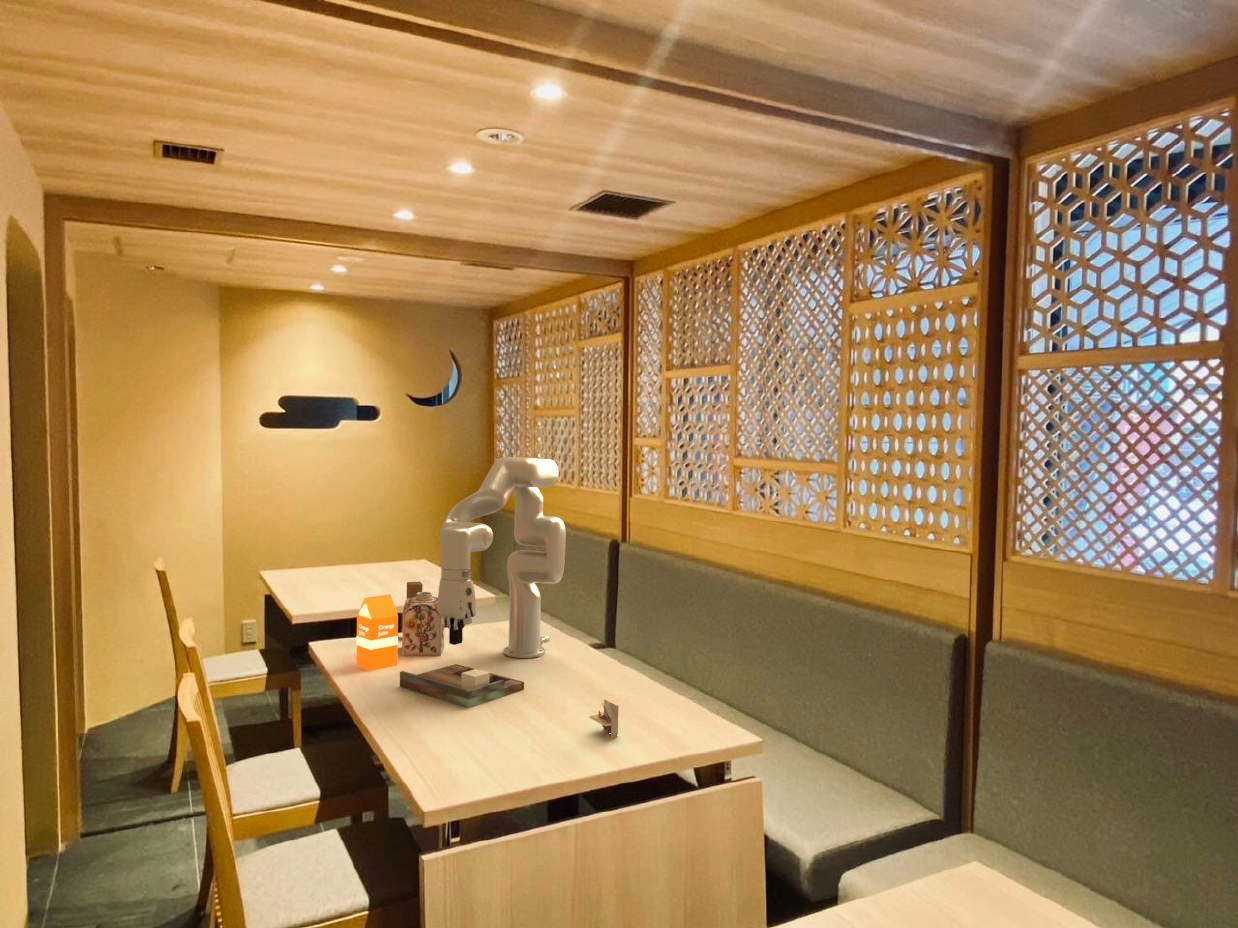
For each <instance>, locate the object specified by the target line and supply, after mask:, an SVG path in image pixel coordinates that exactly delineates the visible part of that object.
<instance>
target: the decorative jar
mask: <svg viewBox="0 0 1238 928" xmlns="http://www.w3.org/2000/svg"><path fill="white" fill-rule="evenodd" d="M401 634H402V637H401V639H402V640H401V648H402V649H401V654H402V656H403V657H441V656H442V653H443V650H444V648H445V620H444V619H442V618H441V617H440V613H439V611H438V596H433V593H432V592H430V591H422V592H418V593H417V596H416V597H413V598H409V599H407V598H406V600H405V601H404V606H403V610H402V633H401Z"/></svg>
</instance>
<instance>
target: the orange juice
mask: <svg viewBox="0 0 1238 928" xmlns="http://www.w3.org/2000/svg"><path fill="white" fill-rule="evenodd" d="M398 630H399V615H398V612H397V609H396V606H395V603H394V600H393V597H392V594H391V593H390V594H383V595H377V596H376V595H375V596H369V597H364V599H363V600H362V603H361V605H360V608H359V610H358V612H357V614H356V655H355V656H356V659H355V661H356V665H357V666H356V667H360V668H362V669H364V670H367V671H370V672H372V671H377V670H382V669H385V668H392V667H395V666H398V650H399V649H398V645H399V636H398V634H399V631H398Z"/></svg>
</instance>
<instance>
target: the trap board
mask: <svg viewBox="0 0 1238 928" xmlns="http://www.w3.org/2000/svg"><path fill="white" fill-rule="evenodd" d="M474 669H475V668H473V667H469V666H466V665H465V666H464V665H462V664H458V663H454V664H452V665H447V666H444V667H440V668H437V669H433V670H429V671H425V672H422V673H418V674H415V673H412V672H408V671H404V670H402V671H399V688H402V689H406V690H409V691H412V692H414V693H420V694H422V695H426V696H430V697H433V698H436V699H439V700H443V701H446V702H449V703H451V704H455V705H458V706H461V707H466V708H468V709H469V708H472V707H474V706H478V705H481V704H485V703H487V702H490V701H493V700H497V699H499V698H502V697H505V696H508V695H512V694H515V693H517V692H521V691H523V690H525V681H523V680H520V679H519V680H518V679H514V678H510V677H506V676H503V675H500V674H499V675H498V674H497V673H496V674H495V673H491V672H489V673H490V680H489V684H487V685H483V686H480V687H477V688H474V689H470V690H468V689H464V688H461V676H462V673H463V672H467V671H471V670H474Z"/></svg>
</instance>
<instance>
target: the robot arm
mask: <svg viewBox="0 0 1238 928" xmlns="http://www.w3.org/2000/svg"><path fill="white" fill-rule="evenodd" d="M558 479H559V468H558V465H557V463H556V461H554V460H553V459H551V458H536V457H525V456H524V457H522V456H521V457H520V456H503V457H499V458H497V459H496V460H495V461H494V462H493V464H492V466H491V467H490V469H489V471H488V473H487V475H486V477H485V478H484V480H483V482H482V483H481V484H480V487H479V488H478V490H477V491H476V492H474V493H472V494H470V495H468V496H467V497H465V498H463V499H462V500H461V501H459V502H458V503H456V504H455V505H454V506H453V507H452V508H451V509H450V511H449V512H448V513H447V515H446V517H445V519H444V520H443V523H442V524H441V527H440V530H439V536H438V537H439V538H438V539H439V541H440V571H441V572H440V580H439V585H438V595H437V597H438V611H439V613H440V617H441V618H442V619H444V622H446V627H447V628H448V631H449V633H448V638H449V641H448V642H449V643H448V644H450V645H455V646H456V645H459V644H462V643H463V632H464V631H463V629H465V626H466V625H469V624H472V623H473V620H472V618H474V617H476V616H477V606H476V605H477V603H476V602H477V601H476V592H475V586H474V581H473V579H471V577H472V572H471V553H474V552H482V551H485V550H487V549H489V547H491V545H492V543H493V541H494V533H493V530H492V528H491V527H490V526H489V525H487V524H486V523H483V522H482V523H481V522H471V521H472V520H474V519H477V518H480V517H483V516H487V515H490V514H494V513H496V512H499V511H501V510H503V509H504V508H505V506H506V504H507V502H508V501H509V498H510V496H511V495H512V493H513V496H514V499H515V500H514V501H515V508H514V526H513V527H514V528H513V536H514V540H515V542H516V543H517V544H518V545H522V546H527V547H539V548H545V550H546V551H541V550H540V551H538V550H529V549H519V550H515V551H512V552H511V553H510V555H508V558H507V561H506V570H507V577H508V582H509V583H508V585H509V606H508V607H509V611H508V614H509V615H508V646H505V647H504V648H503V649H502V651H503V654H504V655H505V656H507V657H511V658H517V659H526V658H527V659H531V658H538V657H540V656H541V657H542V656H543V655H545V653H546V649H545V648H544V647H543V644H546V643H550V636H548V635H546V636H541V612H542V611H541V609H542V605H541V604H542V598H541V597H542V595H541V592H540V589H539V587H538V586H537V583H538V584H545V585H546V584H548V585H556V584H558V583H560V582H561V581H562V579H563V576H564V573H565V572H564V571H565V563H566V562H565V559H566V544H567V543H566V542H567V541H566V540H567V529H566V526H565V525H566V524H565V523H564V521H563V520H562V519H561V518H560V517H558V516H556V515H555V516H553V515H544V496H543V494H542V493H541V492H542V491H540V489H541V488H543V489H544V488H545V489H546V488H551V487H553V486H554V485H555V484H556V483H557V481H558Z"/></svg>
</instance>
